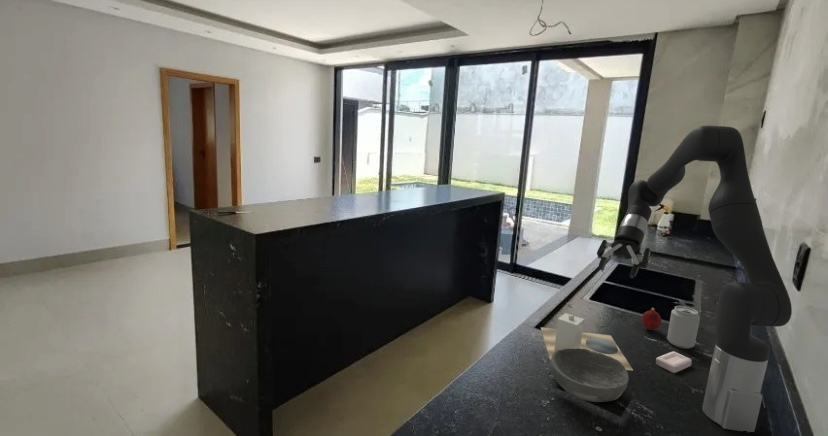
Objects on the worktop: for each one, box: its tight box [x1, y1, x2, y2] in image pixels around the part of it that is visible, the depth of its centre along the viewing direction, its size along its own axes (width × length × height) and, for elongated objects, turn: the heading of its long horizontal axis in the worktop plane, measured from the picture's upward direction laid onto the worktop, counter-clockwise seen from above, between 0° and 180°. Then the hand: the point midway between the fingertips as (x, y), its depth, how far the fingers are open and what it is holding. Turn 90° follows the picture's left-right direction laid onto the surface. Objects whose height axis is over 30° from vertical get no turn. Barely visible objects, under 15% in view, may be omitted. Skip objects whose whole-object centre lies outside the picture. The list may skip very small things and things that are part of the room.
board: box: [540, 326, 634, 372], centre depth 117 cm, size 20×22×2 cm
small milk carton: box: [554, 312, 585, 351], centre depth 113 cm, size 6×6×11 cm
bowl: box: [550, 348, 630, 403], centre depth 96 cm, size 18×18×8 cm
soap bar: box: [655, 350, 692, 374], centre depth 111 cm, size 5×9×2 cm, turn 118°
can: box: [666, 305, 701, 349], centre depth 122 cm, size 8×8×12 cm
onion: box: [641, 307, 662, 331], centre depth 132 cm, size 6×6×8 cm
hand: (615, 272), depth 118 cm, fingers open, 8 cm apart
